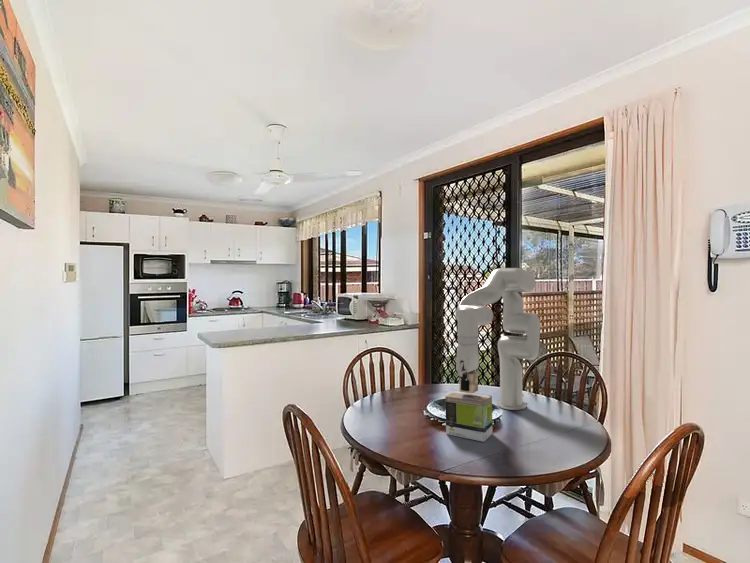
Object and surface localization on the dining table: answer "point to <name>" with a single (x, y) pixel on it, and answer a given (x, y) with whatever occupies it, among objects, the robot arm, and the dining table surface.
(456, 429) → the tea box
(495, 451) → the dining table surface
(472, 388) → the maple block
